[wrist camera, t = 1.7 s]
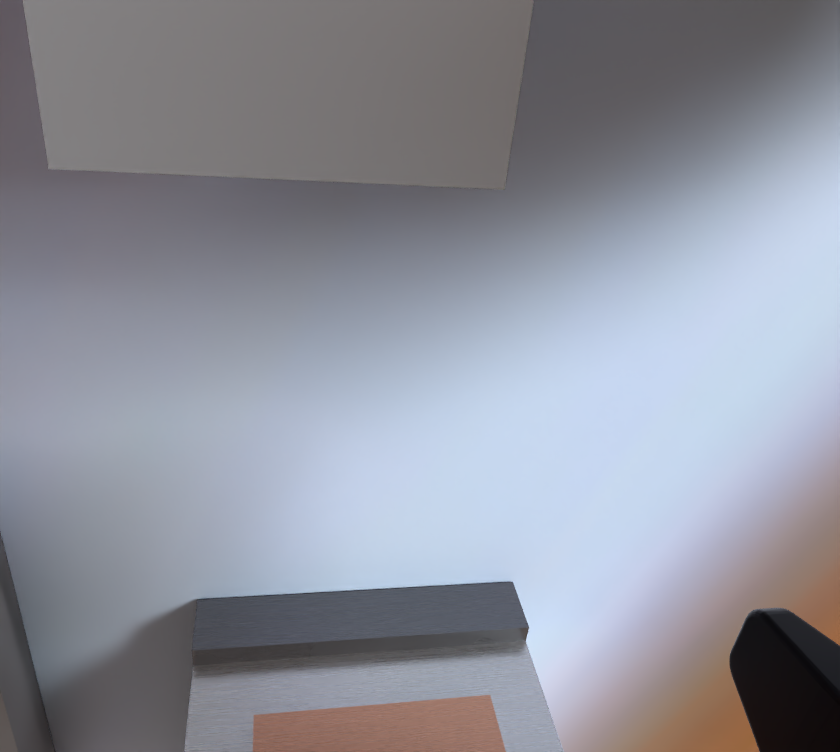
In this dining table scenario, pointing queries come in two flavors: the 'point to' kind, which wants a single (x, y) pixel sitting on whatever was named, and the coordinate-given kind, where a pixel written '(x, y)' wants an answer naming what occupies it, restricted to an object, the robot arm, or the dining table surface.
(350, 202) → the dining table surface
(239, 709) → the mounted unit
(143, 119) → the grey block
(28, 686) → the charcoal tray
